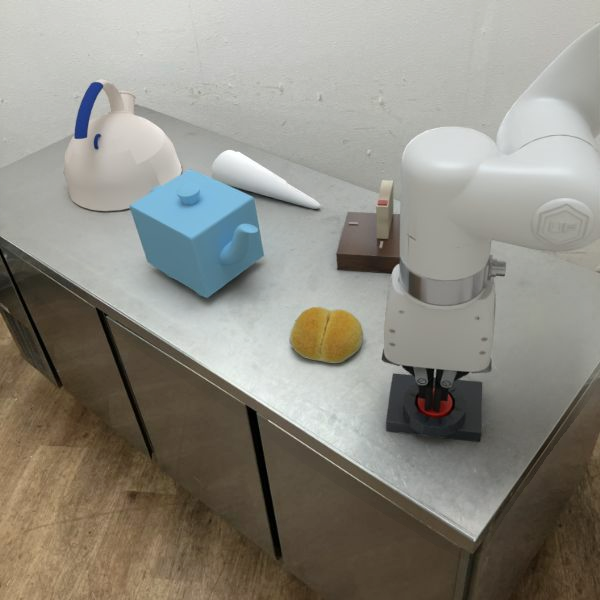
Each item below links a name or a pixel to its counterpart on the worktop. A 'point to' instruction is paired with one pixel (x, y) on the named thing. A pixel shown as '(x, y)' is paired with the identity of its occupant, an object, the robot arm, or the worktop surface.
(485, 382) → the worktop surface
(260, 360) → the worktop surface
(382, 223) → the handle
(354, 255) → the panel
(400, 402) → the button block
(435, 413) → the button
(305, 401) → the worktop surface
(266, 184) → the long cone
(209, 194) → the teapot
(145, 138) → the kettle
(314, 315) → the bread roll
